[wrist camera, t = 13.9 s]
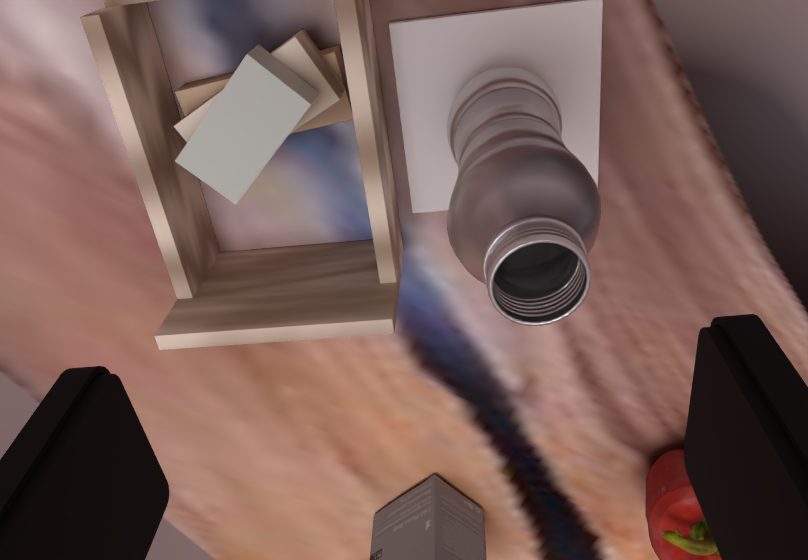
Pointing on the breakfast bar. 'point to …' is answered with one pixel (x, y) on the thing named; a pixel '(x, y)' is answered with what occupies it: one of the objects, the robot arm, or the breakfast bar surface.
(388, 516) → the skincare box
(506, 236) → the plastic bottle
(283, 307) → the frame
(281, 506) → the breakfast bar surface
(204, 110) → the block
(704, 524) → the vegetable
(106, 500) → the robot arm
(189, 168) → the offcut top
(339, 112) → the offcut bottom
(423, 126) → the pad
